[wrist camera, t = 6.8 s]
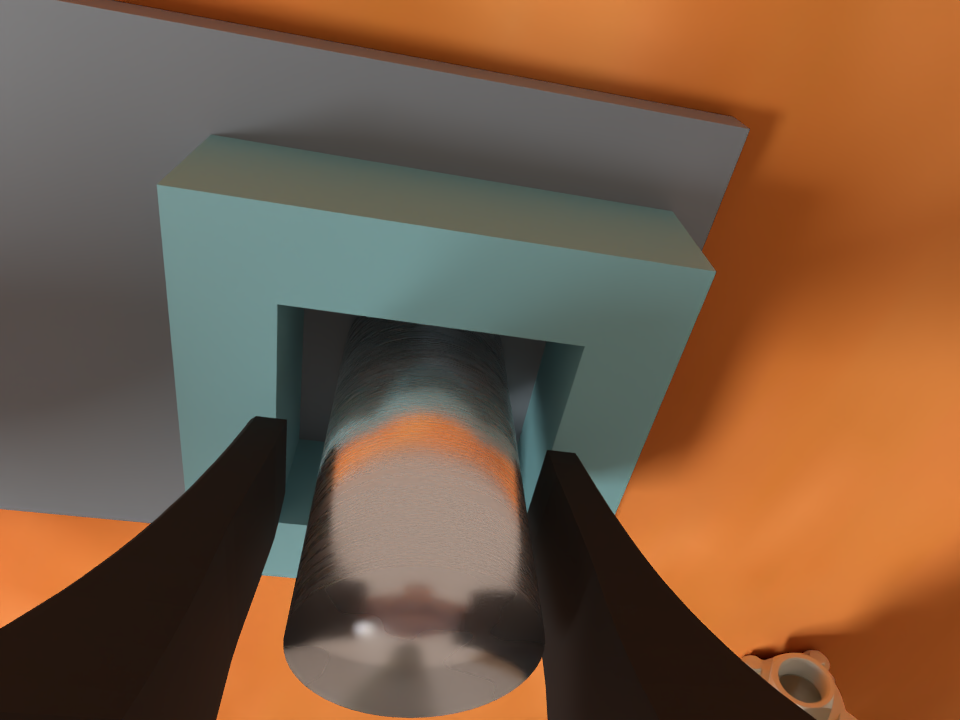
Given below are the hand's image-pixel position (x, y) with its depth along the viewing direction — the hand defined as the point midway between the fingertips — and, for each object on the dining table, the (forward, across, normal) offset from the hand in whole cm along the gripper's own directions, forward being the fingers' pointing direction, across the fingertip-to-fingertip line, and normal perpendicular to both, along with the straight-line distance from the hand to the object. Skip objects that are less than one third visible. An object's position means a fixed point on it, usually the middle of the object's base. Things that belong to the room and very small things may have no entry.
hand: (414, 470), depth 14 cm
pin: (+4, 0, 0) cm, 4 cm away
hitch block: (+5, +3, 0) cm, 6 cm away
